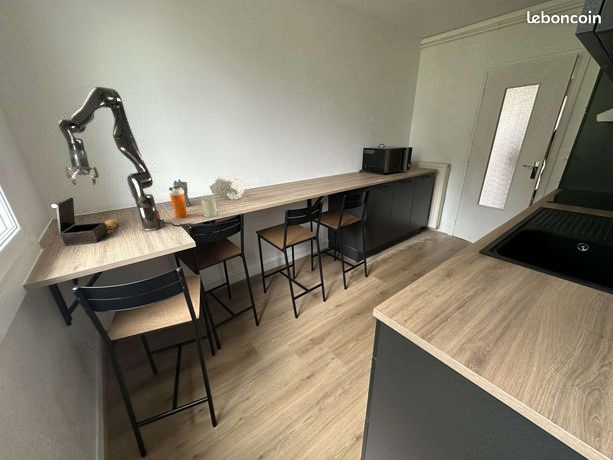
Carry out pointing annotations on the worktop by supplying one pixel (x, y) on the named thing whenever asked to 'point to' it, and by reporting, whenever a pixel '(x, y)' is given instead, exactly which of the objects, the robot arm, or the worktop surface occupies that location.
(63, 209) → the lid
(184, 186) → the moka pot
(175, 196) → the shaker bottle
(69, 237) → the dark brown box
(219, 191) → the crumpled white cloth
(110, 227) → the sandwich
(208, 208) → the can
